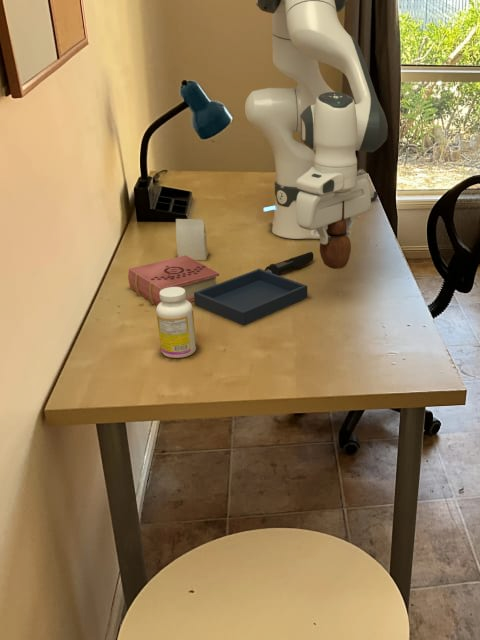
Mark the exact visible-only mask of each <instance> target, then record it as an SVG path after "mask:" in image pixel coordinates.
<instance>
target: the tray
mask: <svg viewBox="0 0 480 640" xmlns="http://www.w3.org/2000/svg"><path fill="white" fill-rule="evenodd" d="M308 293H309V292H308V285H306V284H303V283H301V282H298V281H295V280H293V279H290V278H288V277H284V276H281V275H276V274H273V273H270V272H267V271H265V269H262V268H257V269H254V270H252V271H249V272H246V273H244V274H241V275H238V276H236V277H233V278H229V279H227V280H225V281H222V282H220V283H216V285H214V286H211V287H208V288H206V289H203V290H200V291H197V292H195V293H194V300H195V301H194V306H196V307H199V308H200V309H203V310H205V311H208V312H210V313H213V314H215V315H218V316H219V317H222V318H225V319H227V320H229V321H232V322H234V323H237V324H240V325H241V326H246V325H248V324H251V323H253V322H256V321H257V320H261V319H262V318H265V317H266V316H270V315H271V314H273V313H275V312H278V311H281V310H283V309H285V308H288V307H289V306H292V305H294V304H296V303H299V302H302V301H304V300H305V299H308Z"/></svg>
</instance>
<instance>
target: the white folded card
mask: <svg viewBox="0 0 480 640" xmlns="http://www.w3.org/2000/svg"><path fill="white" fill-rule="evenodd" d="M175 240H176V251H177V257H180V256H184V255H187V256H189V257H191V258H192V259H194V260H196V261H206V260H207V258H208V255H209V251H208V239H207V231H206V225H205V219H203V218H202V219H198V218H195V219H194V218H189V219H188V218H175Z"/></svg>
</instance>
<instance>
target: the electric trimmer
mask: <svg viewBox="0 0 480 640" xmlns="http://www.w3.org/2000/svg"><path fill="white" fill-rule="evenodd" d="M313 261H314V253H313V251H308V252H306V253H302V254H300V255H296V256H294V257H291V258H289V259H285V260H282V261H279V262H277V263H271V264H269V265H268V266H266V267H265V269H264V270H265V271H267V272H270V273H273V274H276V275H279V276H281V275H282V274H284V273H287V272H289V271H292V270H299V269H301V268H302V267H304V266H306V265H308V264H310V263H312V262H313Z"/></svg>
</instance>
